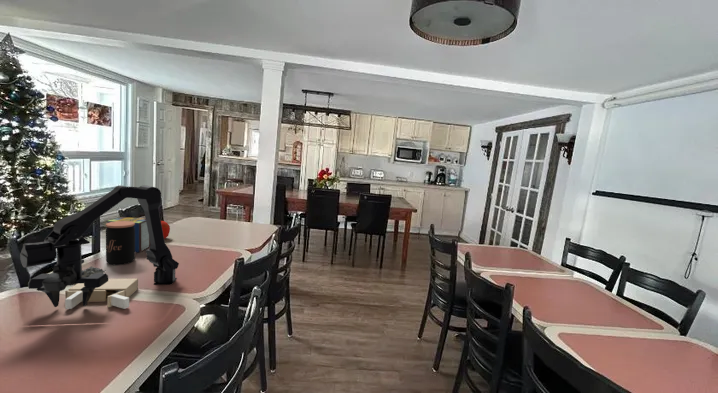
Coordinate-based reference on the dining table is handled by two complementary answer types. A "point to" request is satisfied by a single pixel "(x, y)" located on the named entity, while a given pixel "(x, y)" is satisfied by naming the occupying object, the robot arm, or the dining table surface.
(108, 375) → the dining table surface
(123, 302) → the flap
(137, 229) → the protein box
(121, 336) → the dining table surface
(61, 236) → the robot arm
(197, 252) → the dining table surface
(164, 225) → the apple
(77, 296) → the flap
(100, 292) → the carton
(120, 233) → the coffee jar
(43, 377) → the dining table surface
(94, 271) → the egg carton
